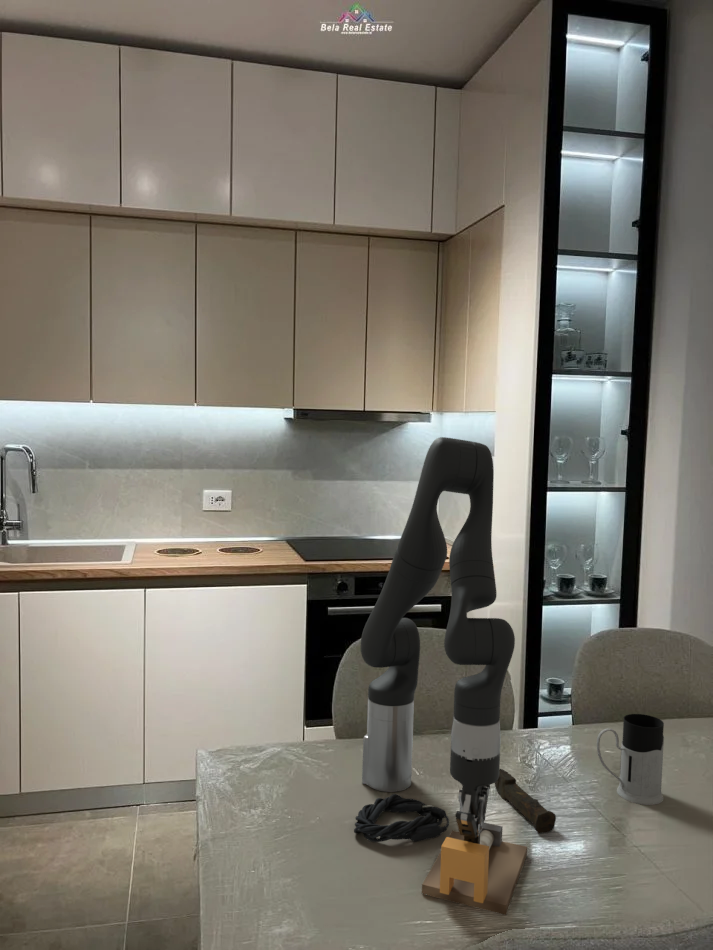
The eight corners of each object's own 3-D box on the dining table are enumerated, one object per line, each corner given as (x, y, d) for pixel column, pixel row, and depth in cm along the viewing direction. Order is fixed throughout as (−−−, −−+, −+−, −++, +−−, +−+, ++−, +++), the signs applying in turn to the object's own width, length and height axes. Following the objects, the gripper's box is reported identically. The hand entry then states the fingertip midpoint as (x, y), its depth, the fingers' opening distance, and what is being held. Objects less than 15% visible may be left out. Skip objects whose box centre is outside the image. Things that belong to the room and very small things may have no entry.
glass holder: (672, 803, 155) (676, 727, 154) (606, 808, 152) (610, 731, 151) (647, 783, 163) (650, 711, 162) (583, 787, 160) (587, 715, 159)
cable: (369, 857, 133) (370, 831, 132) (335, 818, 145) (336, 795, 145) (456, 837, 140) (457, 813, 140) (417, 802, 153) (418, 780, 152)
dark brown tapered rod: (556, 833, 142) (557, 808, 142) (536, 835, 141) (537, 810, 141) (507, 786, 160) (508, 764, 160) (489, 788, 159) (490, 766, 159)
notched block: (439, 892, 119) (441, 846, 119) (445, 882, 122) (446, 836, 122) (482, 903, 117) (484, 856, 116) (487, 892, 120) (489, 846, 119)
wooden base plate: (421, 893, 122) (422, 867, 122) (452, 838, 139) (452, 815, 138) (505, 915, 117) (507, 888, 117) (526, 855, 134) (527, 831, 134)
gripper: (462, 727, 129) (458, 830, 131) (440, 758, 117) (436, 872, 118) (508, 735, 127) (504, 840, 128) (490, 767, 114) (486, 883, 115)
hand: (471, 855), depth 123 cm, fingers closed
